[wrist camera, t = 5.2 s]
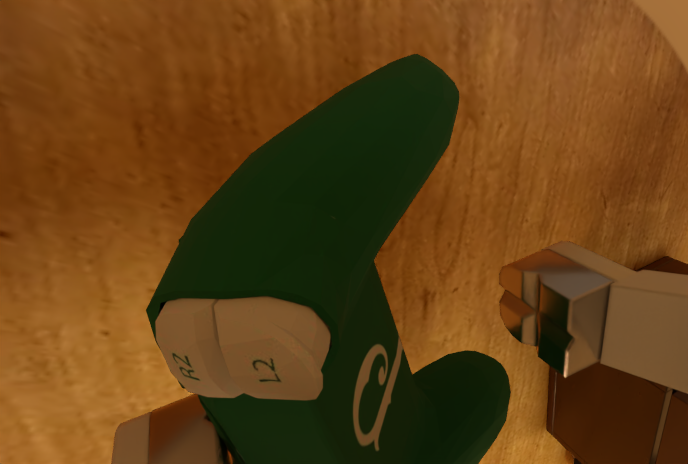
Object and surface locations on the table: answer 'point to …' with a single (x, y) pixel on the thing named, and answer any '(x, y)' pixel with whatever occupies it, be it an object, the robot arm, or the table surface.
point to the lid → (675, 432)
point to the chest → (610, 408)
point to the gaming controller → (324, 292)
